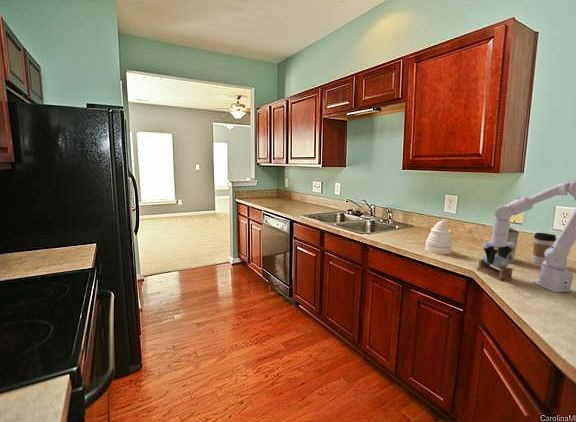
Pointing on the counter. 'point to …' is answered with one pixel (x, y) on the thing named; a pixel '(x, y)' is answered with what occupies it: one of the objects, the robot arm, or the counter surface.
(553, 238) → the coffee cup
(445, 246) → the honey pot
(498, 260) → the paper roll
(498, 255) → the robot arm
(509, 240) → the coffee box
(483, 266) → the roll cradle
